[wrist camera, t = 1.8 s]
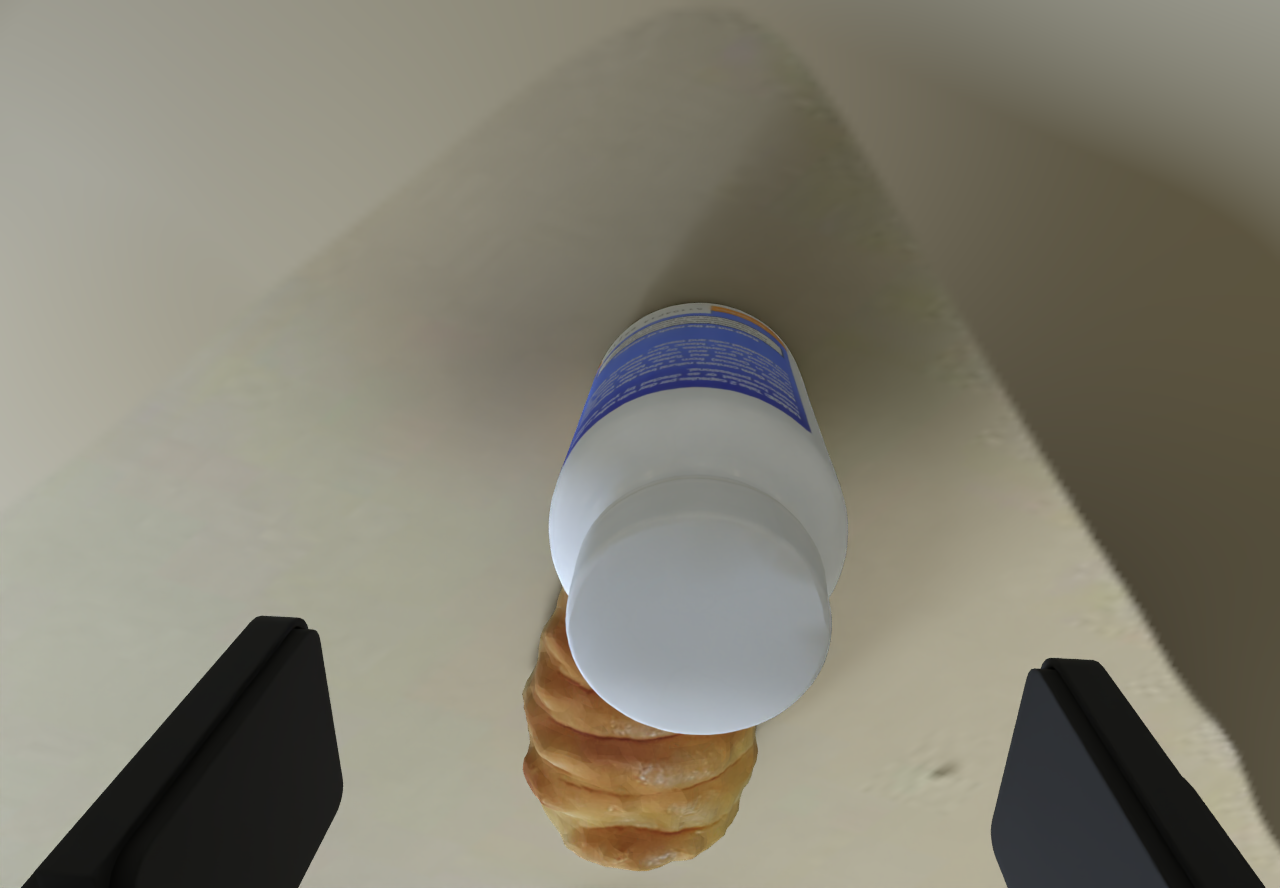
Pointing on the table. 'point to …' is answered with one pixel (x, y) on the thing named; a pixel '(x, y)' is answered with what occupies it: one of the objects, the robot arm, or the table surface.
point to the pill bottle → (698, 525)
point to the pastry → (624, 769)
